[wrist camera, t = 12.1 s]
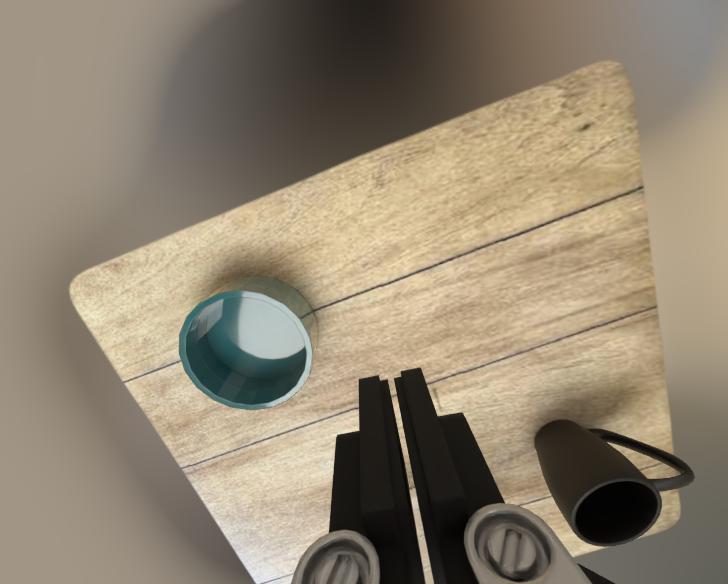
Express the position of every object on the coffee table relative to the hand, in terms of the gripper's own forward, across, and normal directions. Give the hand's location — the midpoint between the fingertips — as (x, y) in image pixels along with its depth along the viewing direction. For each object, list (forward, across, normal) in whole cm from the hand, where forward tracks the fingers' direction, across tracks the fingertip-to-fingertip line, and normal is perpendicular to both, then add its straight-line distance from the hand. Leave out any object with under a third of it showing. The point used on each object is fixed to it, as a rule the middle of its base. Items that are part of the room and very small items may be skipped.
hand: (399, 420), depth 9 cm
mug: (+25, -19, +26) cm, 41 cm away
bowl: (+25, +12, +6) cm, 29 cm away
